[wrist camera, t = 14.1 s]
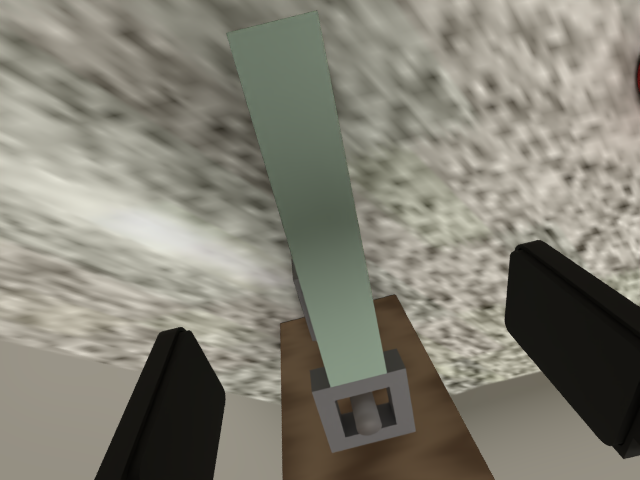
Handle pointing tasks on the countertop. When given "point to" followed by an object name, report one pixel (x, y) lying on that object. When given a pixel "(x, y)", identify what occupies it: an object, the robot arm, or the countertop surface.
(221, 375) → the countertop surface
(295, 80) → the door
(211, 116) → the countertop surface
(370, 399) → the cabinet side
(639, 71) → the canned food
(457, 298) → the countertop surface
